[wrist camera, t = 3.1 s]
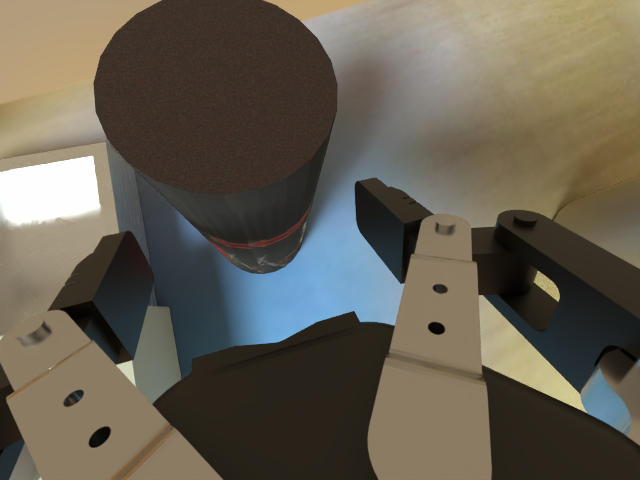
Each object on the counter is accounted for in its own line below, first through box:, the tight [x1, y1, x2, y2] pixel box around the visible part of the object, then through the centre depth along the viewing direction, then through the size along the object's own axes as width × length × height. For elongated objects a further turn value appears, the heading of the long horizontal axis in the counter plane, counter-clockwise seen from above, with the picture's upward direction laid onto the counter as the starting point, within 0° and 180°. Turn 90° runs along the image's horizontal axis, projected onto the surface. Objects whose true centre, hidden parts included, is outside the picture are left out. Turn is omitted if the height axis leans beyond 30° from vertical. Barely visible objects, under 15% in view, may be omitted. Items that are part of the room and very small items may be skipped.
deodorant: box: [94, 0, 337, 274], centre depth 15 cm, size 6×6×15 cm
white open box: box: [0, 142, 157, 336], centre depth 19 cm, size 11×10×4 cm
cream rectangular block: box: [0, 306, 182, 480], centre depth 15 cm, size 12×9×7 cm
